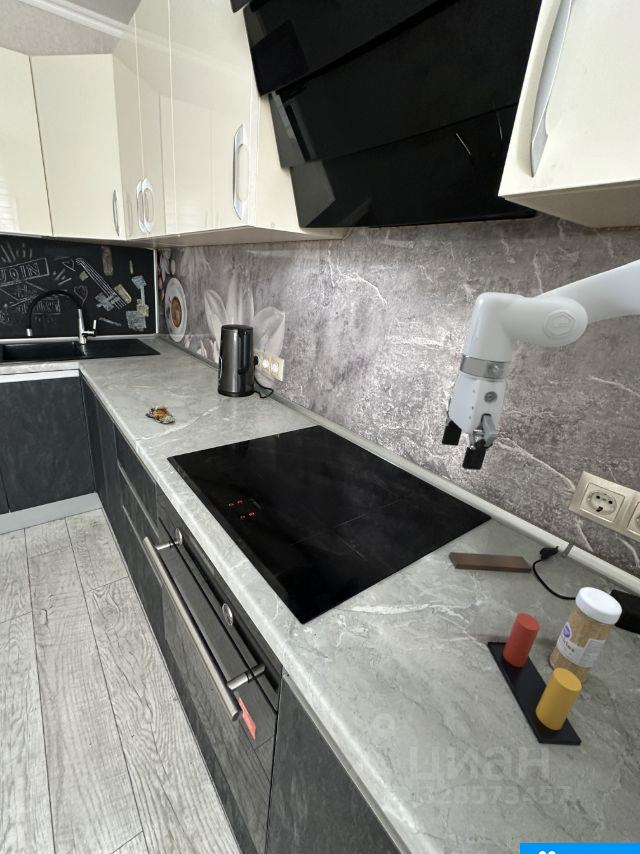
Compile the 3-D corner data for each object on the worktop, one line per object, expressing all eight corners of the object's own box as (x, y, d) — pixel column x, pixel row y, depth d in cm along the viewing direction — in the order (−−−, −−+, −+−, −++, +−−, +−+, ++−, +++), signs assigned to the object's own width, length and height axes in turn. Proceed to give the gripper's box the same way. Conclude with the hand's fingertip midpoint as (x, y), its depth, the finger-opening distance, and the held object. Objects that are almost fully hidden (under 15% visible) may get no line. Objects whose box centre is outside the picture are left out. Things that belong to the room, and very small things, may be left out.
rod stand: (519, 646, 59) (535, 607, 56) (580, 745, 47) (604, 702, 44) (486, 645, 59) (501, 605, 56) (539, 743, 47) (560, 699, 44)
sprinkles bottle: (541, 653, 58) (571, 584, 53) (571, 655, 58) (604, 586, 53) (562, 684, 54) (597, 612, 49) (594, 686, 54) (632, 614, 49)
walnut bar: (518, 568, 75) (522, 556, 74) (527, 581, 72) (532, 568, 71) (446, 564, 75) (449, 551, 74) (453, 576, 72) (456, 563, 71)
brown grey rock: (163, 425, 128) (163, 415, 126) (143, 415, 135) (143, 405, 134) (181, 420, 133) (181, 410, 131) (161, 410, 140) (161, 401, 139)
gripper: (534, 383, 59) (503, 481, 65) (481, 358, 75) (460, 438, 81) (485, 379, 59) (458, 478, 65) (443, 355, 75) (424, 435, 81)
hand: (459, 455), depth 73 cm, fingers open, 9 cm apart
